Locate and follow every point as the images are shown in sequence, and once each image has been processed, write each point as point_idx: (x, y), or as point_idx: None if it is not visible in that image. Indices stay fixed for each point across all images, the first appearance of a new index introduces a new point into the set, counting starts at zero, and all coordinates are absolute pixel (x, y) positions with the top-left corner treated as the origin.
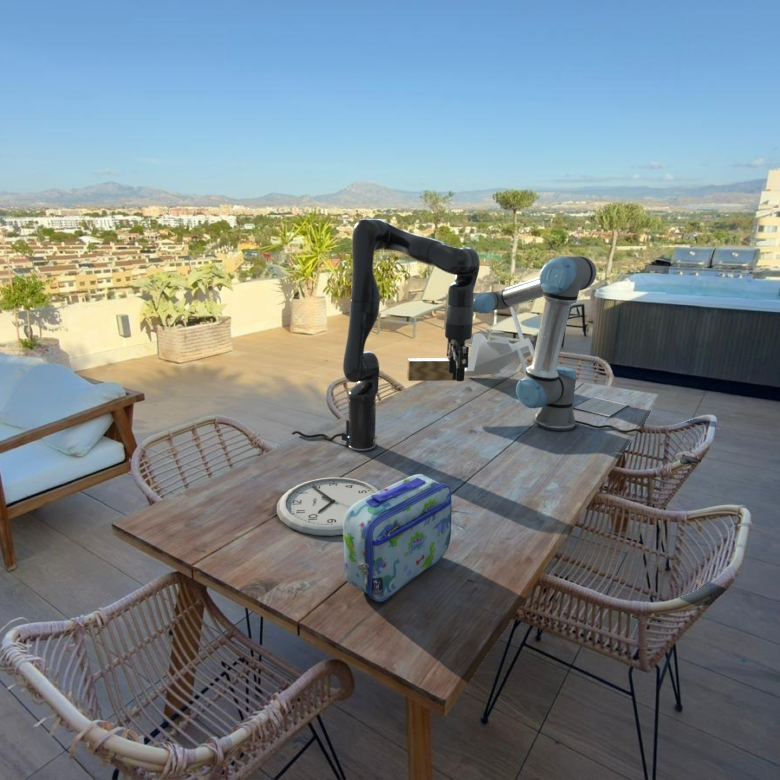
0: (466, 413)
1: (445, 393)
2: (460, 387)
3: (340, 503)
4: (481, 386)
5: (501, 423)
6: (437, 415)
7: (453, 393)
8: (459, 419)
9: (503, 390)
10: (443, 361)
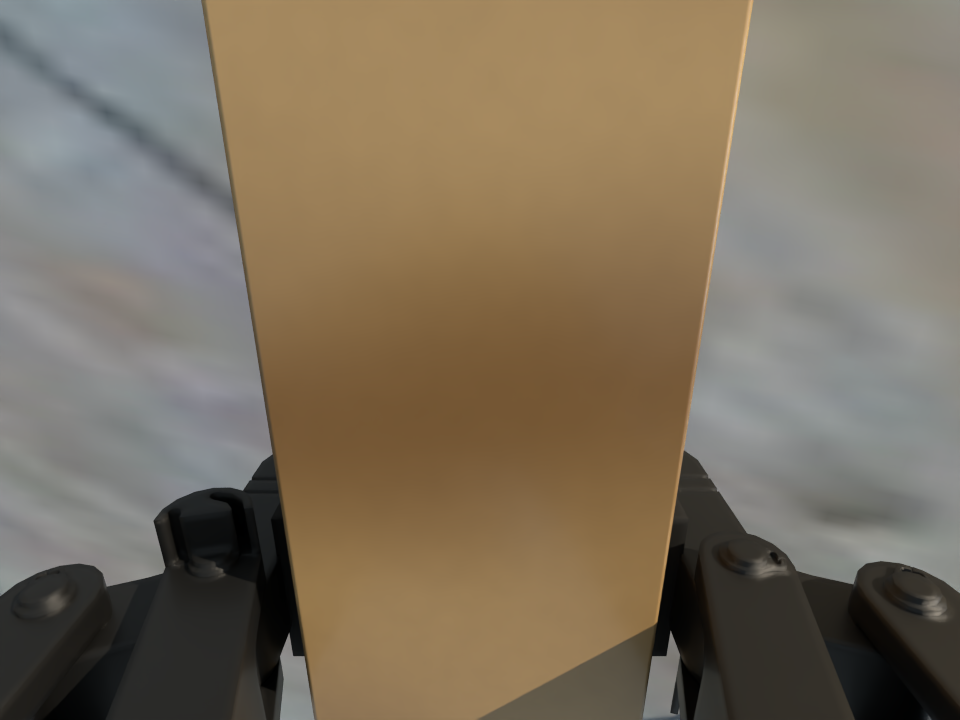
0: (220, 347)
1: (804, 281)
2: (939, 455)
3: None
4: None
5: (32, 537)
6: (125, 51)
7: (784, 357)
8: (51, 252)
9: None
10: (238, 216)
